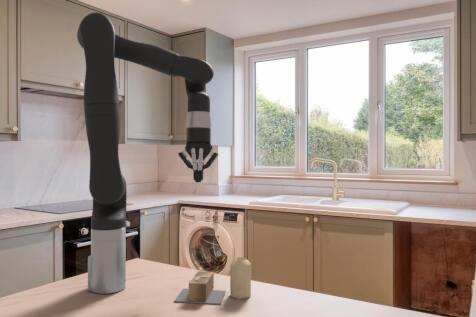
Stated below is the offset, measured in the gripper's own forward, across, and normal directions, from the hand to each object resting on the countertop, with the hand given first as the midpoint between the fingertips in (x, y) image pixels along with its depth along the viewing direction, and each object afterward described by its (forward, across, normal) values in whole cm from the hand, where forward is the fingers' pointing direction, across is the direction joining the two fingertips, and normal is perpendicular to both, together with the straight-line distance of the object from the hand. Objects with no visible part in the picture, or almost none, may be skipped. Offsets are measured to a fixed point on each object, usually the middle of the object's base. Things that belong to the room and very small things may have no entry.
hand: (198, 182), depth 121 cm
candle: (+29, +15, -16) cm, 37 cm away
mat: (+29, +5, -18) cm, 35 cm away
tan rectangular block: (+26, +5, -12) cm, 30 cm away
